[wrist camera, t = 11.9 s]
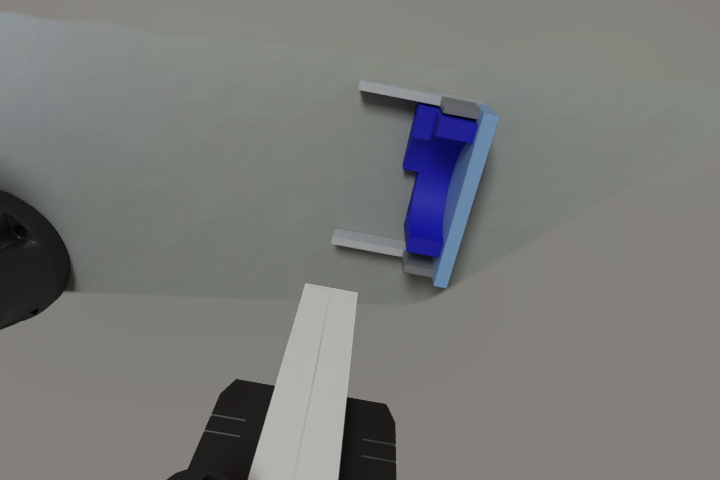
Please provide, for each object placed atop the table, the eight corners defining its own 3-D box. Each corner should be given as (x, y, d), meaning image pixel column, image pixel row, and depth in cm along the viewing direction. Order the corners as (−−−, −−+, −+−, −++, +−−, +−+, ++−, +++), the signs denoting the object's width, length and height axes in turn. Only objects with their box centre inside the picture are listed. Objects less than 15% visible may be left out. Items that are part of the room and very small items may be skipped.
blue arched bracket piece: (417, 100, 43) (421, 113, 37) (466, 110, 43) (478, 124, 38) (389, 221, 48) (389, 248, 43) (433, 229, 48) (439, 257, 43)
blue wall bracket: (333, 235, 49) (326, 266, 43) (361, 76, 42) (357, 88, 36) (439, 254, 49) (446, 288, 43) (483, 101, 42) (499, 116, 36)
